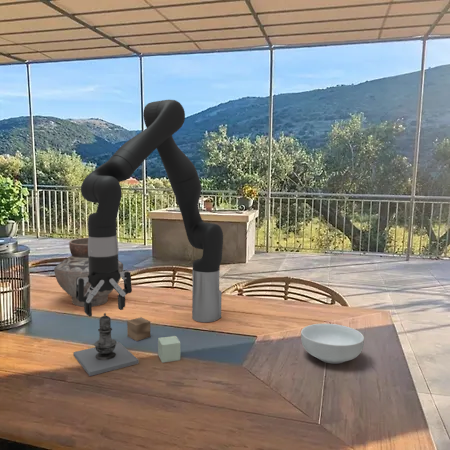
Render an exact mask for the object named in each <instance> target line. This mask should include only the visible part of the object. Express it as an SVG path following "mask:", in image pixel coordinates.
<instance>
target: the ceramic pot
mask: <svg viewBox="0 0 450 450" xmlns="http://www.w3.org/2000/svg"><path fill="white" fill-rule="evenodd" d="M88 238H89V237H84V238H83V237H81V238H74V239H71V240H69V244H68V245H69V251H70V253H71V255H70V256H68V257H67V258H65V259H64V260H62V261H61V262H60V263H58V264H57V265H55V267H54V268H53V271H54V276H55V279H56V281H57V283H58V285H59V286H60V288H61V289H62V290H63V291H64V292H65V293H67V294H68V295H69V297H71V303H72V305H75V306H78V307H83V308H84V302H80V301H79V300H77V299H76V278H77V277H81V278H84V277H88V275H89V261H88ZM118 265H119V269H118V271H119V273H120V272H123V271H124V264H123V262H122V261H120V260H119V259H118ZM121 279H122V278H121V277H120V279H119V280H118V282H117V284H118V285H119V282H120V281H121ZM90 285H91V284H90V283H89V282H87V283H86V285H85V286H84V296H85V294H86V293H87V290H88V288H89V287H90ZM114 290H115V289H114V288H113V289H112V290H109V291H108V290H105V291H103V292H99V291H98V292H97V294H96V295H95V296H94V297H93V298H92V300H91V301H90V302H91V303H92V308H93V307H97V306H102V305H105V304H106V303H107V302H108V299H109V294H111V293H112V292H113V291H114Z"/></svg>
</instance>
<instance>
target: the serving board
mask: <svg viewBox="0 0 450 450" xmlns="http://www.w3.org/2000/svg"><path fill="white" fill-rule="evenodd" d="M116 342H117V344H116V346H115V349H114V350H113V352H114V353H115V354H116V356H115V357H114V358H112V359H109V360H99V359H97V358H96V355H97V354H98V353H99V352H97V350H96V348H95V346H94V347H90V348H86V349H82V350H77V351H73V357H74V358H75V359H76V360H77V362H78V363H79V365H80V366H81V367H82V368H83V370H84V371H85V372H86V374H87V375H88V377H92V376H97V375H100V374H104V373H107V372H111V371H115V370H118V369H119V370H120V369H124V368H126V367H130V366H134V365H138V364H140V363H139V362H140V361H139V359H138V358H137V357H136V355H134V354H133V353H132V352H131V351H129V349H128V348H126V346H124V345H123V344H122V343H121V342H120V341H116Z"/></svg>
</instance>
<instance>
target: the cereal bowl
mask: <svg viewBox="0 0 450 450" xmlns="http://www.w3.org/2000/svg"><path fill="white" fill-rule="evenodd" d="M300 339H301V345H302V347H303V348H304V350H305V351H306V352H307V353H308V354H309V355H310V356H312V357H315V358H317V359H318V360H319V361H322V362H323V363H327V364H342V363H345V362H349V361H351V360H354V359H356V358H358V356H359V355H361V353H362V351H363V348H364V347H365V346H364V344H365V337H364V335H363V334H362V333H361V331H359V330H357V329H355V328H353V327H349V326H346V325H342V324H336V323H315V324H309V325H307V326H305V327H303V328H302V329H301V331H300Z"/></svg>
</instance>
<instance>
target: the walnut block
mask: <svg viewBox="0 0 450 450" xmlns="http://www.w3.org/2000/svg"><path fill="white" fill-rule="evenodd" d="M126 322H127V323H126V325H127V330H126V331H127V336H126V337H128V338H130V339H132V340H134V341H135V342H138V341H141V340H144V339H145V340H146V339H147V338H151V321H150V320H148V319H146V318H144V317H142V316H140V317H136V318H133V319H130V320H129V319H128V320H126Z"/></svg>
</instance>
